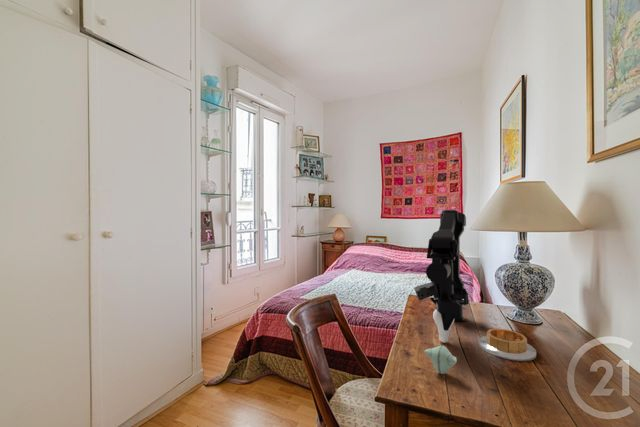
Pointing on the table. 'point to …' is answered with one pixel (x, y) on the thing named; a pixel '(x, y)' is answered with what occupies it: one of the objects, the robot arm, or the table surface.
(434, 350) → the robot head
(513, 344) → the wooden ring on plate
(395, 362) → the table surface
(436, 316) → the lightbulb
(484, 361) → the table surface
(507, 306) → the table surface
